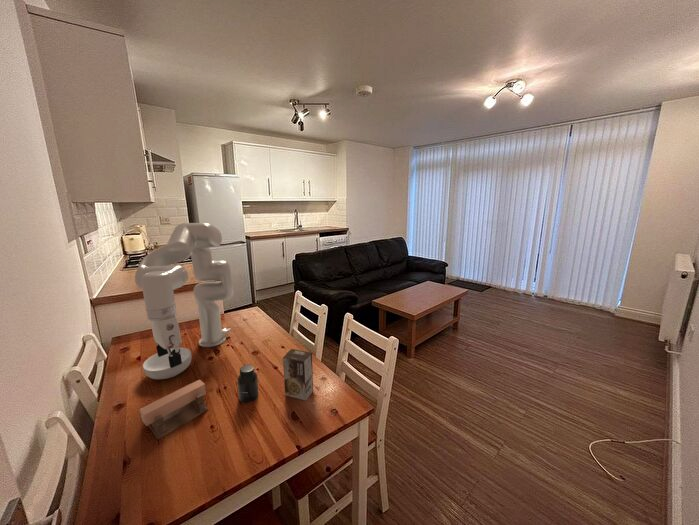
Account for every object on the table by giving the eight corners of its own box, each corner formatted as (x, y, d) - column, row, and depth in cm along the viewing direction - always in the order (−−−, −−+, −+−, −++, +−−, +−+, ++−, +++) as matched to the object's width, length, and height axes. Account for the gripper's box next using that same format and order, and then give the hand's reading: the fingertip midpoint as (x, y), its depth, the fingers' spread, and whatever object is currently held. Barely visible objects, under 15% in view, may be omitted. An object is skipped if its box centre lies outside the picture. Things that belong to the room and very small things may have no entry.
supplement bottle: (240, 406, 96) (237, 376, 94) (238, 394, 102) (235, 365, 100) (260, 399, 99) (257, 370, 97) (257, 388, 105) (254, 360, 103)
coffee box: (313, 390, 105) (312, 352, 101) (306, 401, 99) (304, 361, 95) (293, 384, 108) (291, 347, 104) (284, 395, 102) (282, 356, 98)
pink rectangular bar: (200, 389, 99) (199, 379, 98) (206, 393, 97) (204, 383, 96) (141, 419, 85) (139, 408, 84) (146, 426, 83) (144, 415, 82)
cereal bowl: (174, 358, 125) (172, 344, 123) (202, 365, 120) (200, 351, 118) (135, 380, 109) (132, 365, 108) (165, 390, 104) (162, 374, 102)
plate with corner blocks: (193, 396, 101) (191, 381, 100) (207, 410, 94) (205, 394, 93) (145, 421, 89) (142, 405, 88) (157, 439, 83) (154, 422, 81)
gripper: (187, 314, 82) (194, 364, 86) (164, 301, 92) (171, 346, 96) (158, 323, 76) (167, 376, 80) (137, 307, 86) (146, 355, 90)
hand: (169, 360), depth 88 cm, fingers open, 9 cm apart
